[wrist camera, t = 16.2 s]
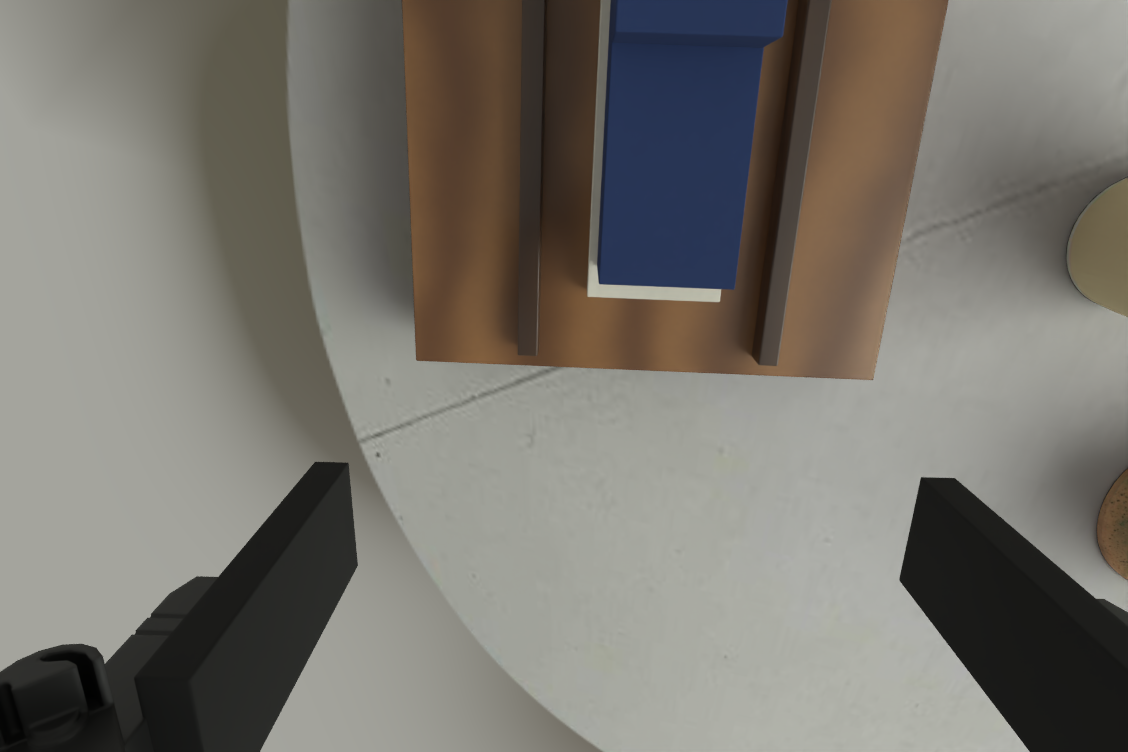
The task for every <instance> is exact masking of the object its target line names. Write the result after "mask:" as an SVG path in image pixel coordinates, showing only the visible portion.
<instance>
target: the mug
mask: <svg viewBox="0 0 1128 752" xmlns="http://www.w3.org/2000/svg"><path fill="white" fill-rule="evenodd" d="M1097 538H1098V543H1099V547H1100V550H1101V552H1102V554H1103V556H1104V558H1105V560H1106V561H1107V562H1108V564H1109V565H1110V566H1111V567H1112V568H1113V569H1114V570H1115V571H1116V572H1118V573H1119V574H1120V575H1121V576H1123V577H1124V578H1125V579H1127V580H1128V469H1127V470H1126V471H1125V472H1123V474H1122V475H1121V476H1120V477H1119V478H1118V479H1117V481H1116V482H1115V483H1114V485H1113V486H1112V487H1111V489H1110V490H1109V492H1108V494H1107V496H1106V498H1105V500H1104V502H1103V504H1102V507H1101V510H1100V513H1099V517H1098V523H1097Z"/></svg>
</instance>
